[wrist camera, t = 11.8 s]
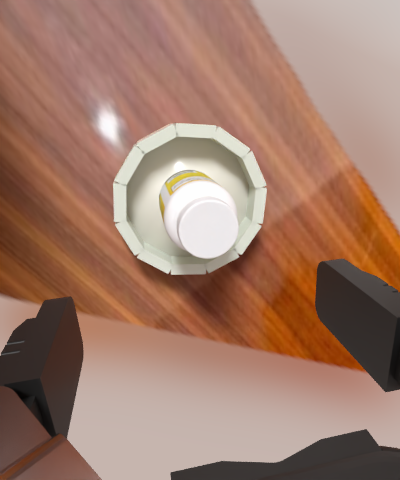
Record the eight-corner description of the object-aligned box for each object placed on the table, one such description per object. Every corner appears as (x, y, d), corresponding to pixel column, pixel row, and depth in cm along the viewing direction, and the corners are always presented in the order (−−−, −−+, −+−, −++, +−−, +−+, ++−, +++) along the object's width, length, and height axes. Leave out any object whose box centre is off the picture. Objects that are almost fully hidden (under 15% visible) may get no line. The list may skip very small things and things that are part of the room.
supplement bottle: (199, 237, 33) (222, 282, 24) (148, 211, 31) (150, 248, 22) (228, 186, 32) (264, 213, 22) (177, 157, 30) (192, 172, 21)
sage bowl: (87, 167, 30) (82, 172, 27) (219, 96, 30) (227, 94, 27) (159, 284, 35) (161, 298, 32) (274, 222, 35) (286, 231, 32)
